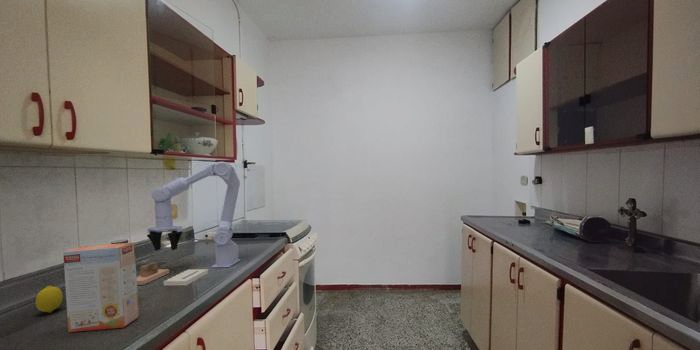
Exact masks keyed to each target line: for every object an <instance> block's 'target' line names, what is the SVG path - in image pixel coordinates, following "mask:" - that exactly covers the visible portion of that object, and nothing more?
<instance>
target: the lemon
mask: <svg viewBox="0 0 700 350" xmlns="http://www.w3.org/2000/svg"><path fill="white" fill-rule="evenodd" d="M63 297H64V295H63V292H62V290H61V288H59V287H57V286H54V285H53V286H52V285H47V286H46V287H44V288H43V289H41V290H40V291H39V292H38V293H37V295H36V297H35V306H36V309H37V310H39V311H41V312H44V313H45V312H46V313H48V314H50V313H52V312H53V311H54V310H56V309H57V308H59V307H60V305H61V304H62V302H63Z"/></svg>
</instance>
